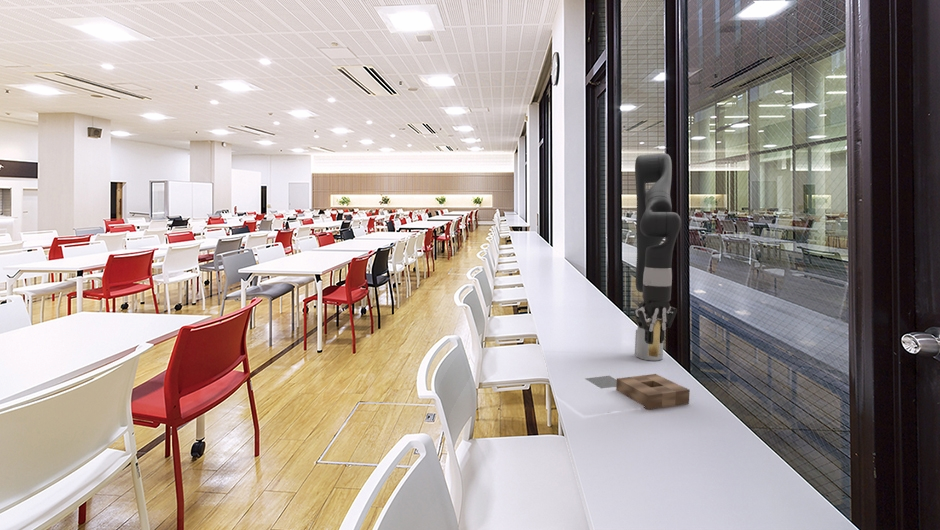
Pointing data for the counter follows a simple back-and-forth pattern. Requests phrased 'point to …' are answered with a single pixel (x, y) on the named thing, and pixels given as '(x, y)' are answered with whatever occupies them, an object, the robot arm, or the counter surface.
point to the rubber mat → (603, 381)
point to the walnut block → (653, 391)
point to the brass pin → (655, 340)
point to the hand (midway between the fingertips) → (654, 342)
